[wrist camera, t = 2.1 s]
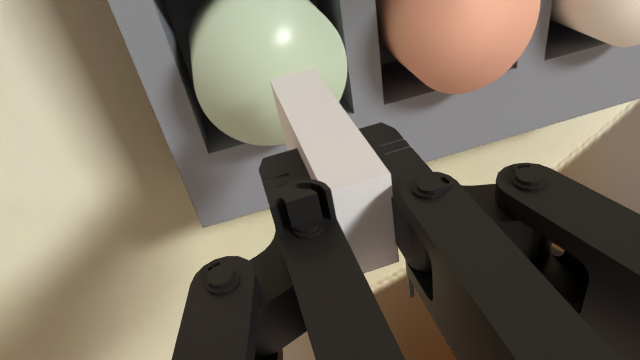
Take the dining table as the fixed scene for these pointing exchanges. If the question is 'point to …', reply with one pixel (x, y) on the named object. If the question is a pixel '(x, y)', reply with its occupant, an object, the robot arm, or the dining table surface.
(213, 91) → the button sage
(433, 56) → the button terracotta
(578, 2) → the button cream
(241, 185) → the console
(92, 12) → the dining table surface
